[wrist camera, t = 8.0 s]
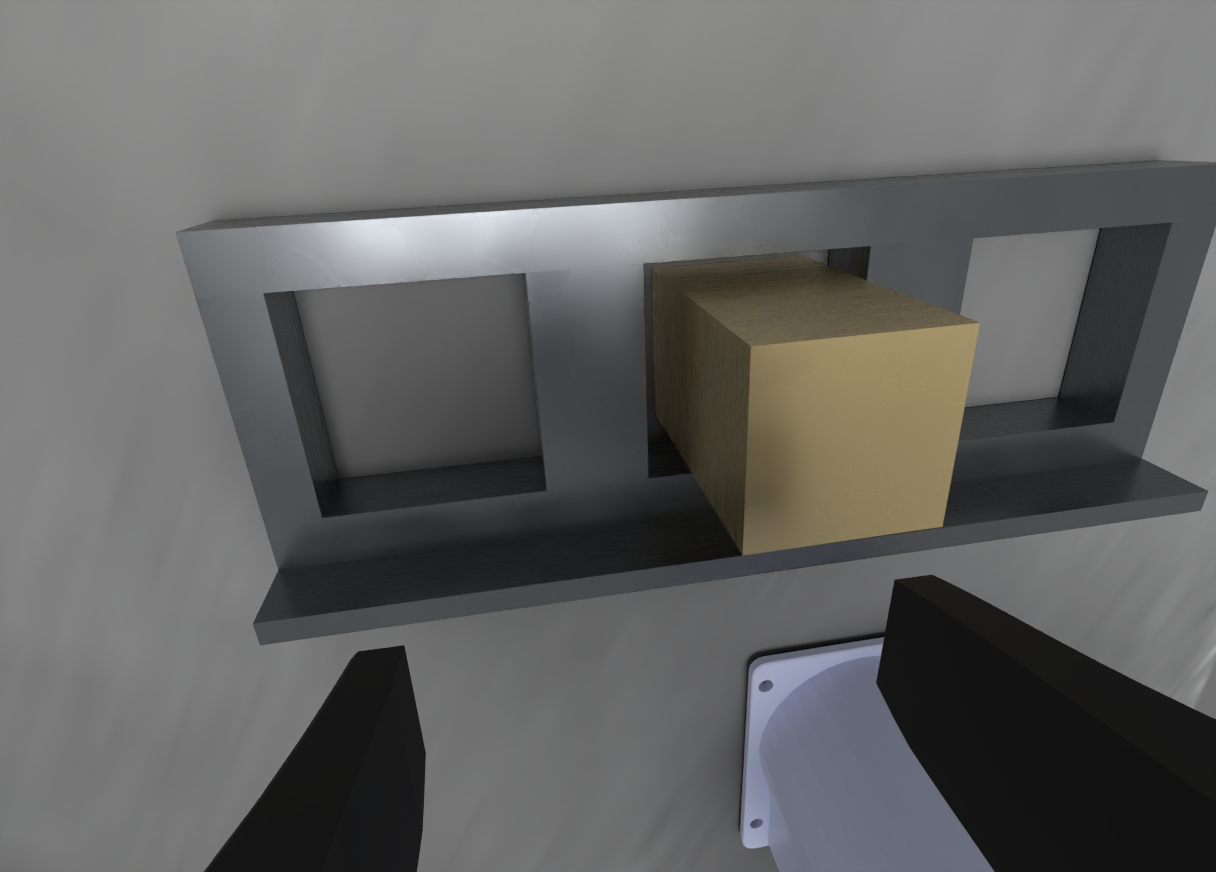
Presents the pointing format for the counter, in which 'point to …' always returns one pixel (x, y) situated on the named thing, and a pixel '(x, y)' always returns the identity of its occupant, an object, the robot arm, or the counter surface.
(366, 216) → the charcoal rail
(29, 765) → the counter surface
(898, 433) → the brass peg
